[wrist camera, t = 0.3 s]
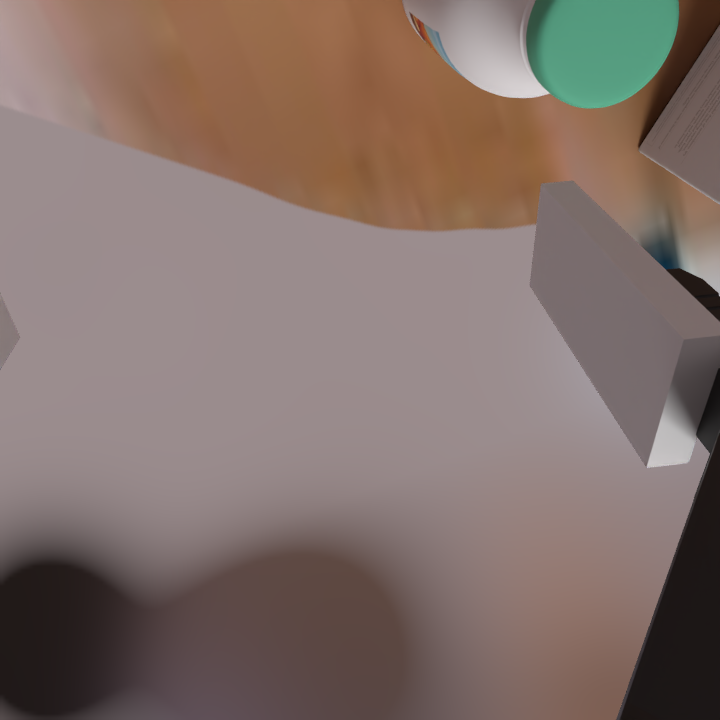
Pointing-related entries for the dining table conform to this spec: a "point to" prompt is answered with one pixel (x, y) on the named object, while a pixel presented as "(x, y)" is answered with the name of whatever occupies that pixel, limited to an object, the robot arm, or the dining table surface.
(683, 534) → the robot arm
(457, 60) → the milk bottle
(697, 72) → the supplement box
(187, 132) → the dining table surface
